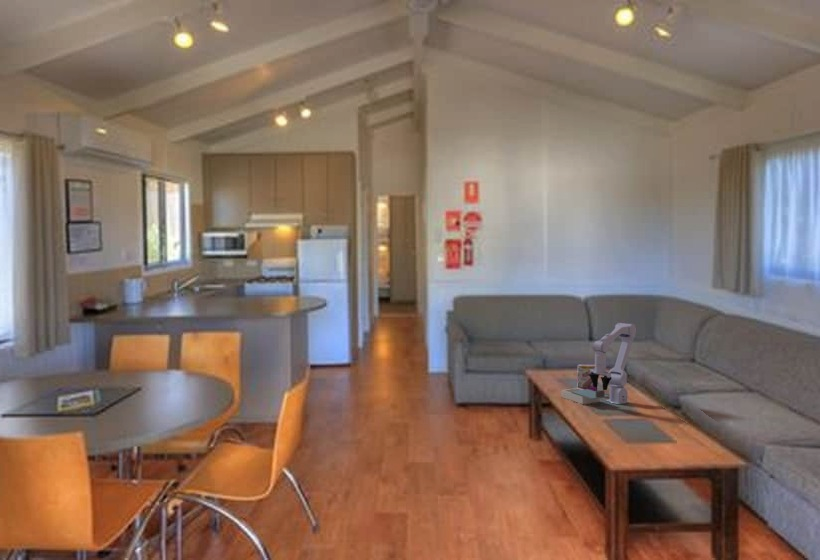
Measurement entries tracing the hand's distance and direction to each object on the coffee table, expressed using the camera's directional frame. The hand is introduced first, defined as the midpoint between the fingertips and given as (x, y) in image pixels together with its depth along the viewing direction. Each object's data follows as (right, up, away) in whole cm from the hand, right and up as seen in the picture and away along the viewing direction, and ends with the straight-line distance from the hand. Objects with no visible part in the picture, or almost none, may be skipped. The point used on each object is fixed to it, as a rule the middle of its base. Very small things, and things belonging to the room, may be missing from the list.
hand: (600, 388), depth 368 cm
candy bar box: (+1, -8, +32) cm, 33 cm away
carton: (-7, -9, +15) cm, 19 cm away
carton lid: (-3, -5, +7) cm, 9 cm away
